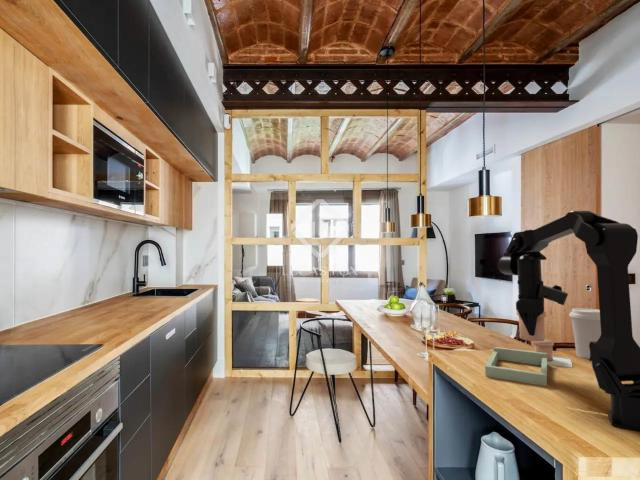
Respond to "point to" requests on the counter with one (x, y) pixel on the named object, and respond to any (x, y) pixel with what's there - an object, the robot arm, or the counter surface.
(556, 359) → the white square board
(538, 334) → the pot
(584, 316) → the coffee cup
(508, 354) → the green shallow rectangular frame
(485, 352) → the counter surface
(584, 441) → the counter surface
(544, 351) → the pot
